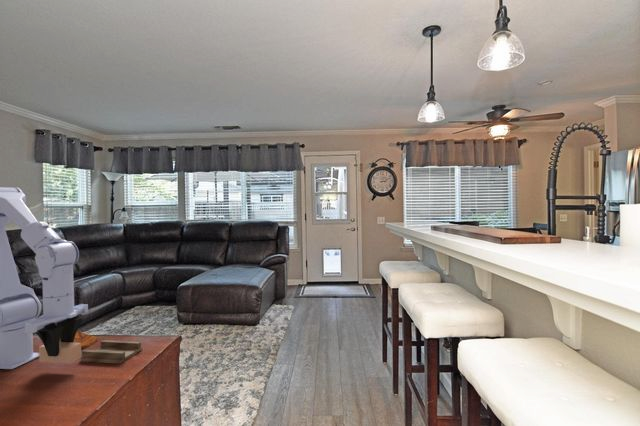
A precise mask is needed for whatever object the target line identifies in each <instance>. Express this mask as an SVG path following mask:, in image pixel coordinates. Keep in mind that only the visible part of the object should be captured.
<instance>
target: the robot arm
mask: <svg viewBox="0 0 640 426" xmlns="http://www.w3.org/2000/svg"><path fill="white" fill-rule="evenodd" d="M26 199H27V198H26V194H25V193H24V192H23V191H22V190H21V188H19V187H18V186H16V187H15V186H13V187H12V186H11V187H8V186H7V187H1V186H0V370H1V369H3V370H14V369H15V368H19V366H22V365H24V364H26V363H29V362H31V361H33V360H35V359H37V358H39V352H34V335H33V334H34V333H35V334H36V335H37V337H39V339H40V340H41V342H42V345H44V346H45V349H46V351H47V354H48V356H54V357H55V356H58V354H59V344H60V341H61V342H72V343H73V342H74V338H75V335H76V332H77V331H79V327H80V326H81V324H82V323H83V319H84V318H83V316H78V315H81V314H85V313H88V312H89V305H88V303H87V304H86V303H85V304H84V303H80V304H77V305H75V297H74V295H75V293H74V292H75V291H74V288H75V287H74V284H75V283H74V265H76V264H77V263H78V262H79V258H80V250H79V248H78V246H77V245H76V243H75V242H73V241H69V240H66V239H62V238H61V237H60V236H59V234H58V233H57V232H55V230H54V228H52V227H51V226H50V224H49V223H47V222H45V221H39V220H37V219H36V217H35V215H34V214H33V213H32V211H31V210H30V208H28V206H27V205H26V201H27V200H26ZM10 222H13V223H14V224H15V225H16V226H17V227H18V228H19V229H20V230H21V232H20V238H21V239H22V241H24V242H25V244H27V246H28V247H29V248H30V249H31V250H32V251H33V252H34V254H35V256H34V262H35V264H36V266H37V268H38V274H39V277H40V278H42V279H41V280H42V282H41V283H42V303H41V301H40V299H39V298H38V297H37V295H36V293H35V291H34V288H32V287H29V286H26V285H24V284H22V283H21V280H20V277H19V274H18V270H17V266H16V263H15V260H14V255H13V252H12V249H11V245H10V243H9V237H8V235H7V231H6V228H5V227H6V224H8V223H10ZM42 311H43V313H42V315H41V312H42ZM40 315H41V316H40Z"/></svg>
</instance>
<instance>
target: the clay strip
mask: <svg viewBox="0 0 640 426" xmlns="http://www.w3.org/2000/svg"><path fill="white" fill-rule="evenodd" d="M38 353H39V357H38V359H39V362H40V363H54V364H55V363H56V364H72V363H74V362H76V361H78V360H81V358H82V349H81V343H72V342H60V344H59V354H58V356H55V357H54V356H48V354H47V351H46V349H45V346H44V344H42V345H40V346H38Z"/></svg>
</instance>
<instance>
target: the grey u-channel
mask: <svg viewBox="0 0 640 426" xmlns="http://www.w3.org/2000/svg"><path fill="white" fill-rule="evenodd" d="M140 350H141V351H143V346H142V341H131V340H128V341H127V340H109V339H108V340H107V339H106V340H105V339H103V340H101V341H100V347H98V348H97V349H84V350H81V358H80V362H84V363H85V362H88V363H102V362H103V363H104V364H105V363H106V364H123V363H124V362H126V361H127V360H129V359H131V358H132V357H133V356H135V355H137V354H138V353H140V352H141V351H140ZM139 351H140V352H139ZM137 352H138V353H137Z"/></svg>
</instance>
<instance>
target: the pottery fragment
mask: <svg viewBox="0 0 640 426" xmlns="http://www.w3.org/2000/svg"><path fill="white" fill-rule="evenodd" d="M82 335H84V336H82ZM98 337H99V336H94V335H91V334H90V335H89V334H87V333H84V332H82V331H79V330H77V332H76V335H75V338H74V342H73V343H81V350H82V349H85V348H88V347H90V346H92V345H93V344H95V342H97V340H98ZM60 342H61V341H60Z"/></svg>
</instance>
